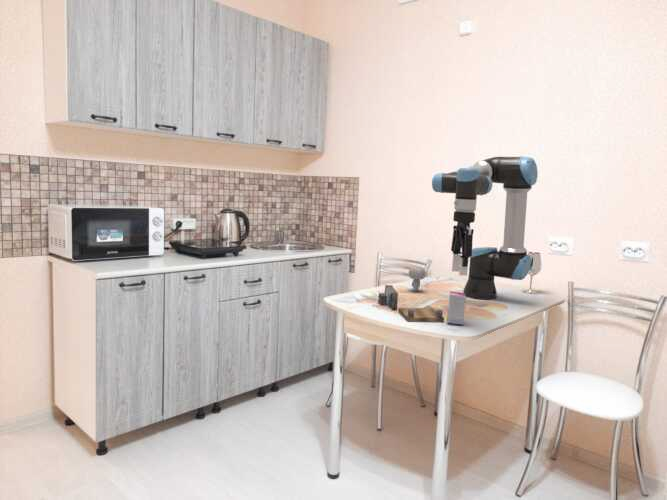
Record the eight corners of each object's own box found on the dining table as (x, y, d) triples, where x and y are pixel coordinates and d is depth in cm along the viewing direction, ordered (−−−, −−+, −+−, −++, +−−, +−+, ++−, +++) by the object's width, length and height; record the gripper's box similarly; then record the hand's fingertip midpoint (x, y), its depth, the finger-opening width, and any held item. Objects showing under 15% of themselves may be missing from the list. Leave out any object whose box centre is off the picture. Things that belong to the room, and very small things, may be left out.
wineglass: (521, 292, 250) (525, 252, 247) (521, 289, 257) (526, 251, 254) (538, 294, 247) (542, 254, 244) (538, 291, 254) (542, 252, 252)
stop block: (383, 302, 215) (384, 293, 215) (386, 305, 210) (387, 296, 210) (378, 302, 215) (378, 293, 214) (380, 305, 210) (381, 295, 210)
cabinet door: (429, 309, 207) (430, 292, 206) (443, 322, 189) (445, 304, 188) (390, 308, 205) (392, 292, 204) (402, 321, 187) (403, 303, 186)
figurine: (409, 288, 246) (411, 264, 244) (425, 290, 243) (427, 266, 242) (406, 291, 239) (407, 266, 237) (421, 293, 236) (423, 268, 234)
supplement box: (463, 326, 185) (466, 295, 184) (447, 324, 187) (449, 294, 185) (462, 321, 191) (465, 292, 189) (446, 320, 192) (449, 290, 191)
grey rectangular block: (397, 307, 206) (398, 292, 205) (389, 307, 206) (390, 292, 205) (391, 299, 220) (392, 285, 220) (384, 298, 220) (385, 285, 219)
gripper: (445, 208, 192) (440, 268, 196) (464, 212, 173) (459, 278, 176) (464, 209, 193) (459, 268, 196) (485, 213, 174) (479, 278, 177)
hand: (459, 273), depth 186 cm, fingers open, 7 cm apart
